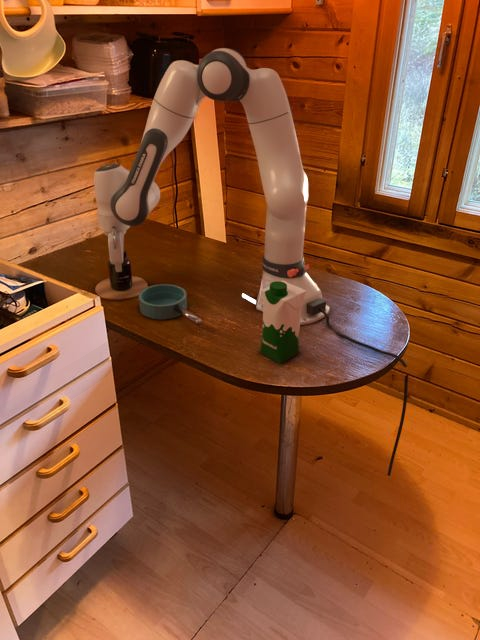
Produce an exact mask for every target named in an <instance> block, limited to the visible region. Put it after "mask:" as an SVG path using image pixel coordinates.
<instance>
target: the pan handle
mask: <svg viewBox="0 0 480 640" xmlns="http://www.w3.org/2000/svg"><path fill="white" fill-rule="evenodd" d="M174 311H176V312H177V313H179V314H180V316H182V317H183V318H185V319H186V320H188V321H189V322H190V323H192V324H194V325H195V326H196V327H199V326H201V325H202V324H203V320H202V319H201V318H200V317H198V316H196V314H193V313H192V312H191V311H189V310H188V309H184V308H183V307H181V306H180V305H178V304H177V305H175V306H174Z"/></svg>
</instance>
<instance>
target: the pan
mask: <svg viewBox="0 0 480 640" xmlns="http://www.w3.org/2000/svg"><path fill="white" fill-rule="evenodd" d="M177 304H178V305H180V306H181V307H183V308H184V309H186V310H188V294H187V291H186V289H184V288H183V287H181V286H179V285H176V284H169V283H160V284H154V285H150V286H148V287H147V288H145V289H143V290H142V291H141V292H140V293H139V296H138V306H139V311H140V313H141V315H143V316H144V317H146V318H148V319H153V320H157V321H158V320H160V321H162V320H163V321H164V320H170V319H175V318H178V317H180V316H181V315H180V314H179V313H177V312H176V311H174V306H175V305H177Z"/></svg>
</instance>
